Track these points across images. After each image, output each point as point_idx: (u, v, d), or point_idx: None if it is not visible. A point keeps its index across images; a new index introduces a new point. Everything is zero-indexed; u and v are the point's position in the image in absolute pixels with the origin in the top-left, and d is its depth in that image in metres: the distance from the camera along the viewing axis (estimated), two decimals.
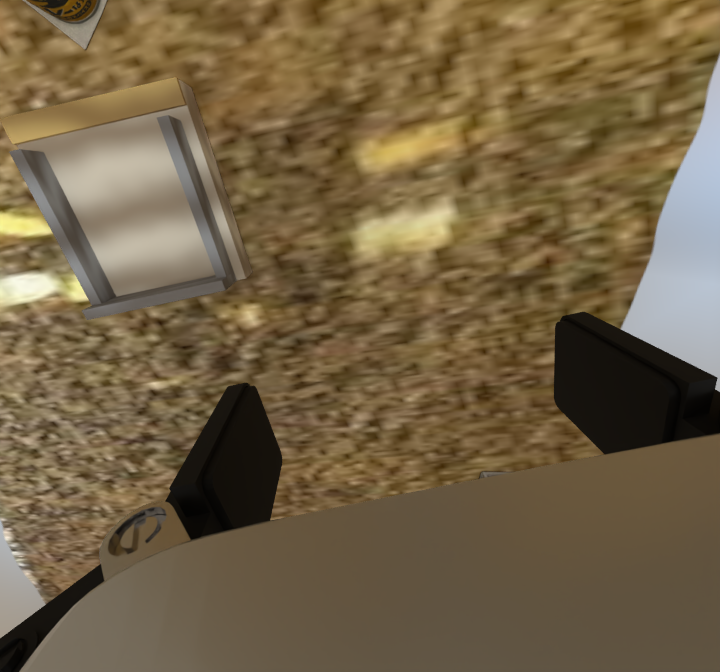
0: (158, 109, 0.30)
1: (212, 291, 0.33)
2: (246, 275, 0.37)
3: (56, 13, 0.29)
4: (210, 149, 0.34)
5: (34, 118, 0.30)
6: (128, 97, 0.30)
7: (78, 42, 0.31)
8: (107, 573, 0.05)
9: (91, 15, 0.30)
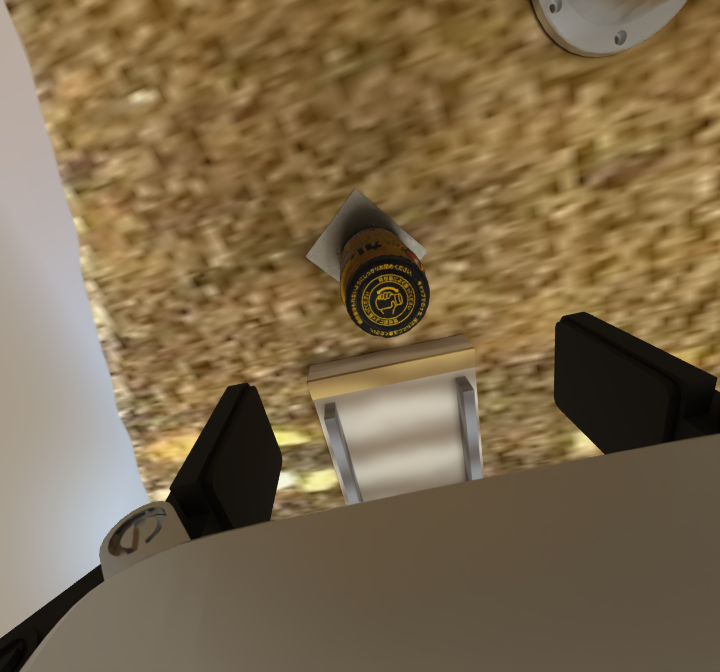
0: (450, 371, 0.33)
1: None
2: None
3: None
4: None
5: (338, 381, 0.33)
6: (427, 364, 0.32)
7: None
8: (107, 573, 0.05)
9: None
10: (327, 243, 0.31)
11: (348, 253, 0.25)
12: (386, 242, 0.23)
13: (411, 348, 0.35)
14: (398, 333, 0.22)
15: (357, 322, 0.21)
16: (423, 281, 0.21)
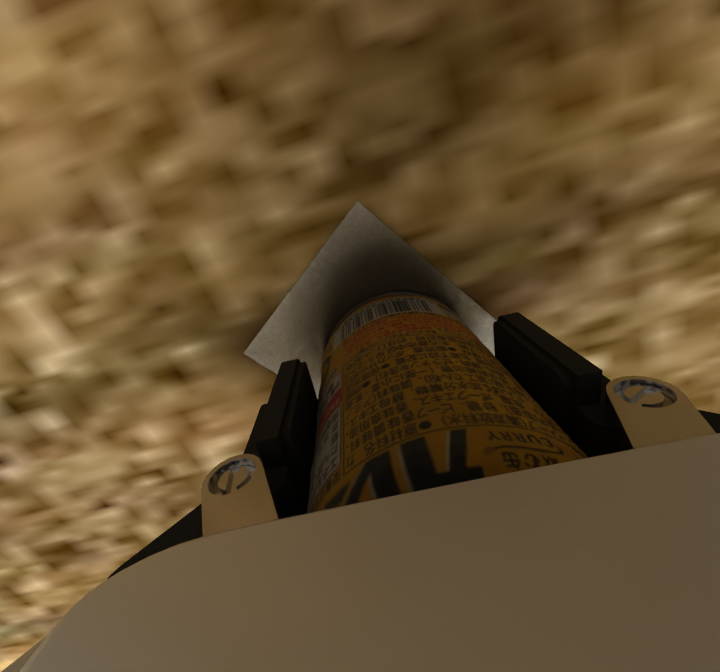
0: None
1: None
2: None
3: None
4: None
5: None
6: None
7: None
8: (216, 507, 0.06)
9: None
10: (292, 326, 0.13)
11: (337, 420, 0.08)
12: (501, 452, 0.05)
13: None
14: None
15: None
16: None
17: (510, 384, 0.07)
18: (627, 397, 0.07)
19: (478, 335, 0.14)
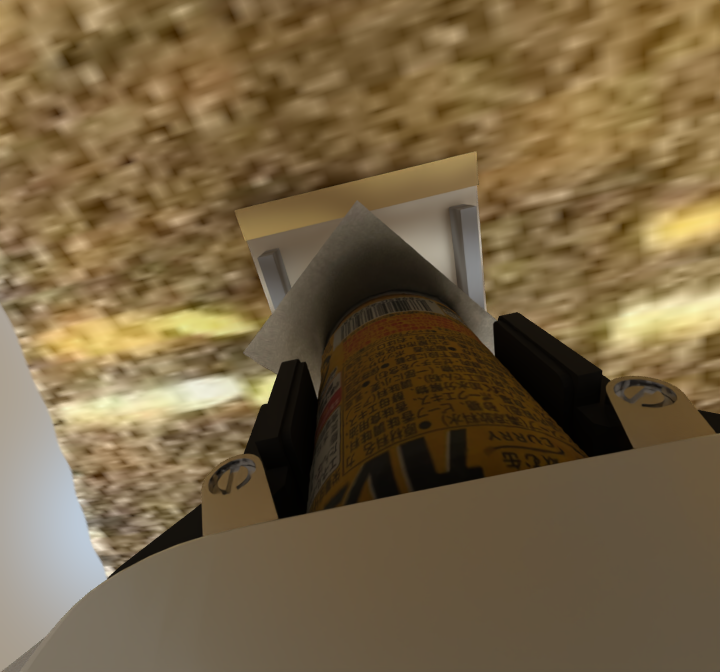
0: (442, 192, 0.23)
1: None
2: None
3: None
4: None
5: (279, 208, 0.23)
6: (407, 178, 0.22)
7: None
8: (216, 507, 0.06)
9: None
10: (292, 325, 0.13)
11: (336, 420, 0.07)
12: (502, 452, 0.05)
13: None
14: None
15: None
16: None
17: (510, 384, 0.07)
18: (627, 397, 0.07)
19: (478, 335, 0.14)
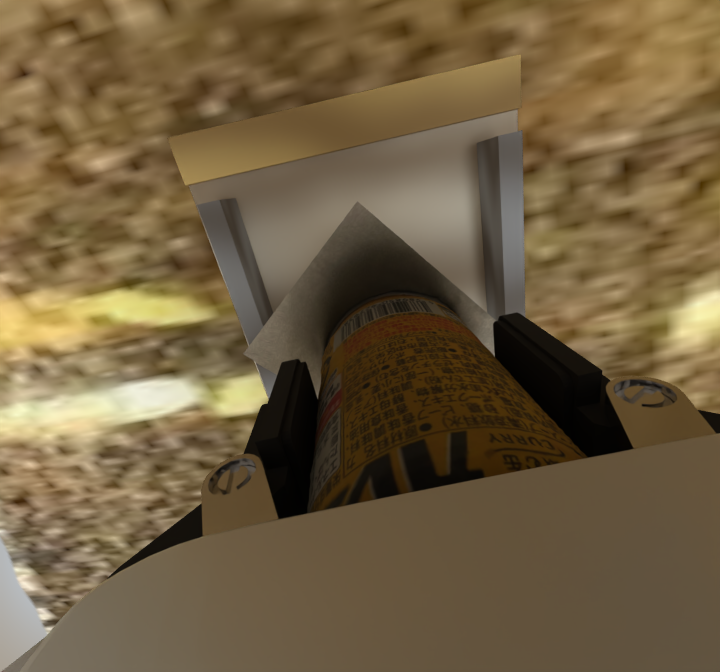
0: (469, 118, 0.16)
1: None
2: None
3: None
4: None
5: (233, 137, 0.16)
6: (419, 95, 0.15)
7: None
8: (216, 507, 0.06)
9: None
10: (292, 326, 0.13)
11: (337, 422, 0.07)
12: (502, 454, 0.05)
13: None
14: None
15: None
16: None
17: (511, 385, 0.07)
18: (627, 397, 0.07)
19: (478, 336, 0.14)
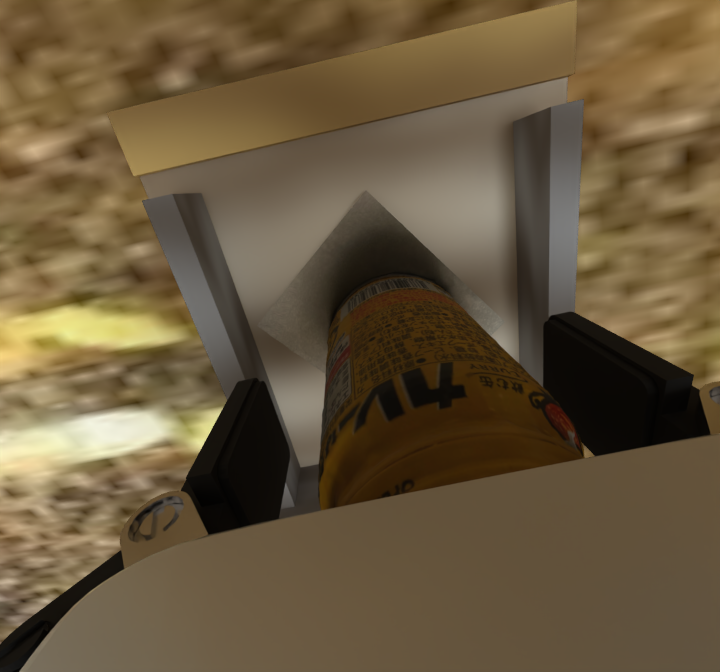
0: (505, 87, 0.12)
1: None
2: None
3: None
4: None
5: (195, 111, 0.12)
6: (441, 56, 0.12)
7: None
8: (129, 558, 0.06)
9: None
10: (302, 301, 0.15)
11: (347, 367, 0.09)
12: (479, 376, 0.07)
13: None
14: None
15: None
16: None
17: (491, 341, 0.09)
18: None
19: None
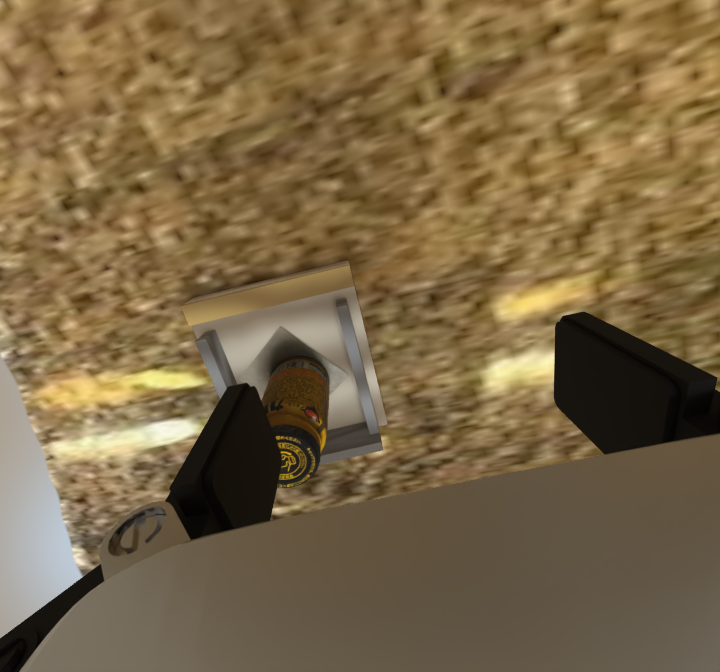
0: (329, 291, 0.32)
1: (370, 451, 0.34)
2: (386, 420, 0.39)
3: None
4: None
5: (213, 304, 0.32)
6: (303, 283, 0.32)
7: None
8: (107, 573, 0.05)
9: None
10: (258, 369, 0.35)
11: (263, 400, 0.29)
12: (288, 403, 0.26)
13: (294, 274, 0.34)
14: (294, 485, 0.25)
15: None
16: (311, 447, 0.24)
17: (307, 390, 0.29)
18: None
19: (332, 373, 0.35)
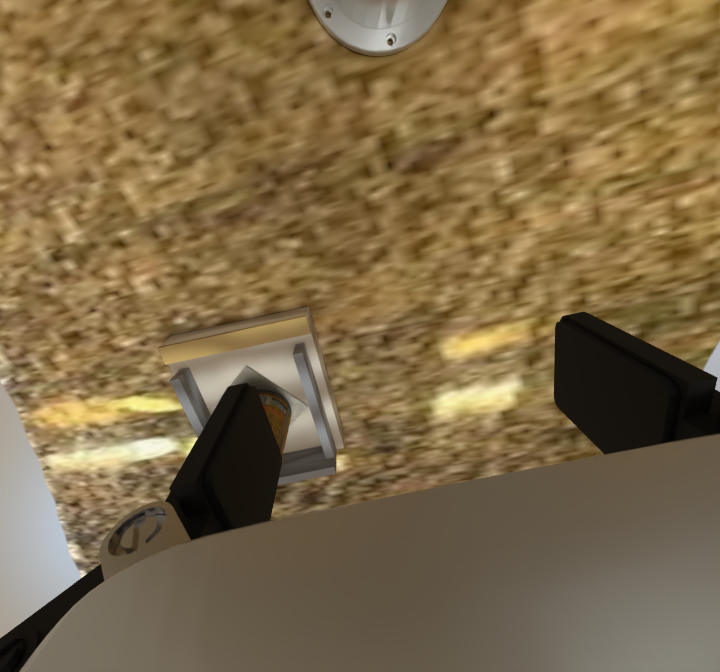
0: (288, 337, 0.37)
1: (325, 474, 0.40)
2: (343, 443, 0.44)
3: None
4: (320, 349, 0.41)
5: (186, 347, 0.36)
6: (265, 330, 0.36)
7: None
8: (107, 573, 0.05)
9: None
10: None
11: None
12: None
13: (260, 318, 0.38)
14: None
15: None
16: None
17: None
18: None
19: (293, 404, 0.40)
